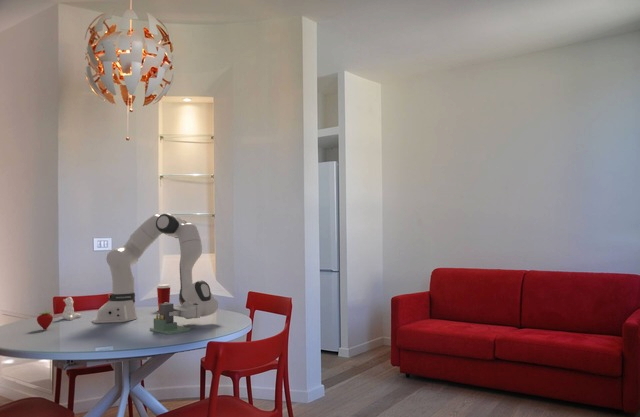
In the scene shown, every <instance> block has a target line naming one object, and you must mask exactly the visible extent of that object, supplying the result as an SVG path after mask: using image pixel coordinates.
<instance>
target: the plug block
mask: <svg viewBox="0 0 640 417" xmlns="http://www.w3.org/2000/svg"><path fill="white" fill-rule="evenodd" d="M173 305H174V303H172V302H169V303H167V302H164V304H160V311H159V315H163V319H164V320H166V324H167V323H173V322H174V317H175V316H168V312H174V307H173Z"/></svg>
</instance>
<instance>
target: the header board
mask: <svg viewBox="0 0 640 417" xmlns="http://www.w3.org/2000/svg"><path fill="white" fill-rule="evenodd" d="M149 331H151V332H155V333H156V332H157V333H159V334H165V335H174V334H178V333H184V332H189V331H191V327H187V326H182V325H178V322H177V321H175V322H173V323H167V324H166V320H164V319H163V315H160V314H157V313H156V314H155V317H153V326H152V327H149Z"/></svg>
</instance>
